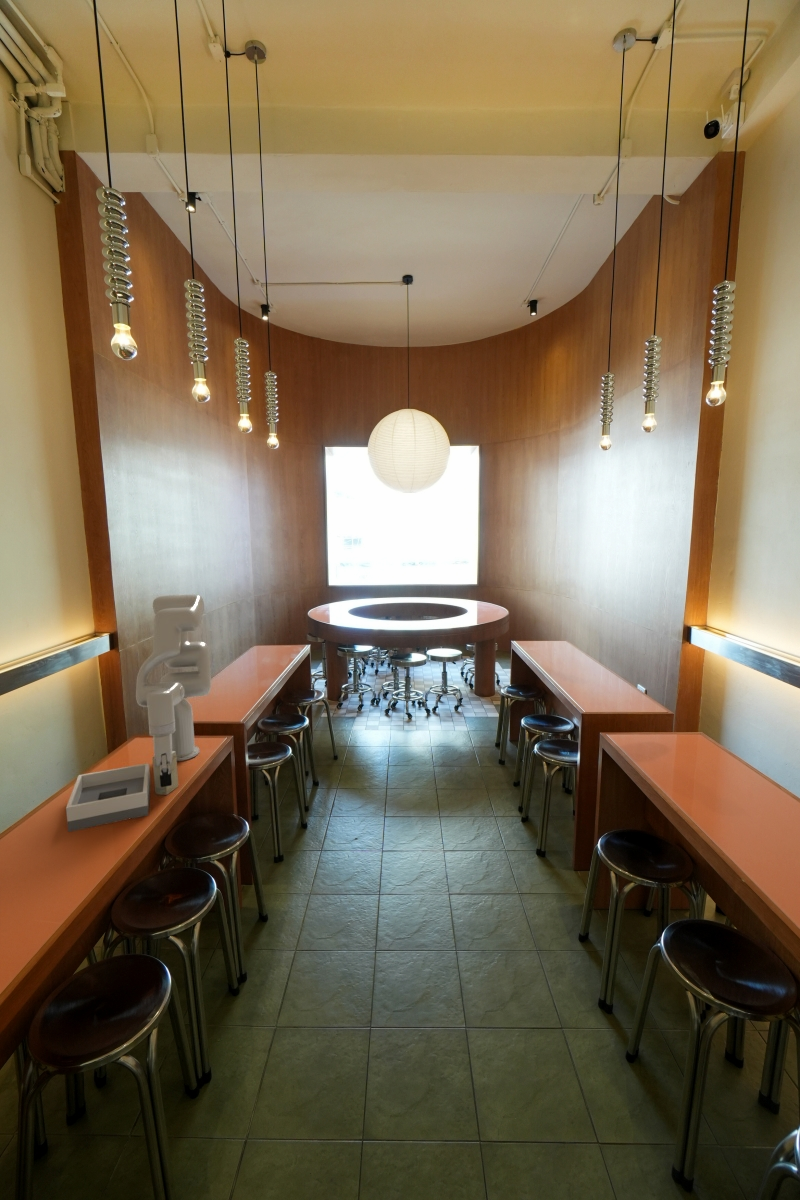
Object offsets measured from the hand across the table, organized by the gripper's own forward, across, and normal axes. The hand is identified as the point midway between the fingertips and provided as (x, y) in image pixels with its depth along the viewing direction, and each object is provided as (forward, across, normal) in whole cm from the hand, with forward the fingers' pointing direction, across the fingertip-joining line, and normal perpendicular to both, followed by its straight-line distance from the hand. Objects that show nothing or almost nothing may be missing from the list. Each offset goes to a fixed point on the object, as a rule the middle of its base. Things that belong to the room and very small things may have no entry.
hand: (166, 780), depth 166 cm
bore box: (+3, +3, -15) cm, 16 cm away
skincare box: (+4, 0, 0) cm, 4 cm away
